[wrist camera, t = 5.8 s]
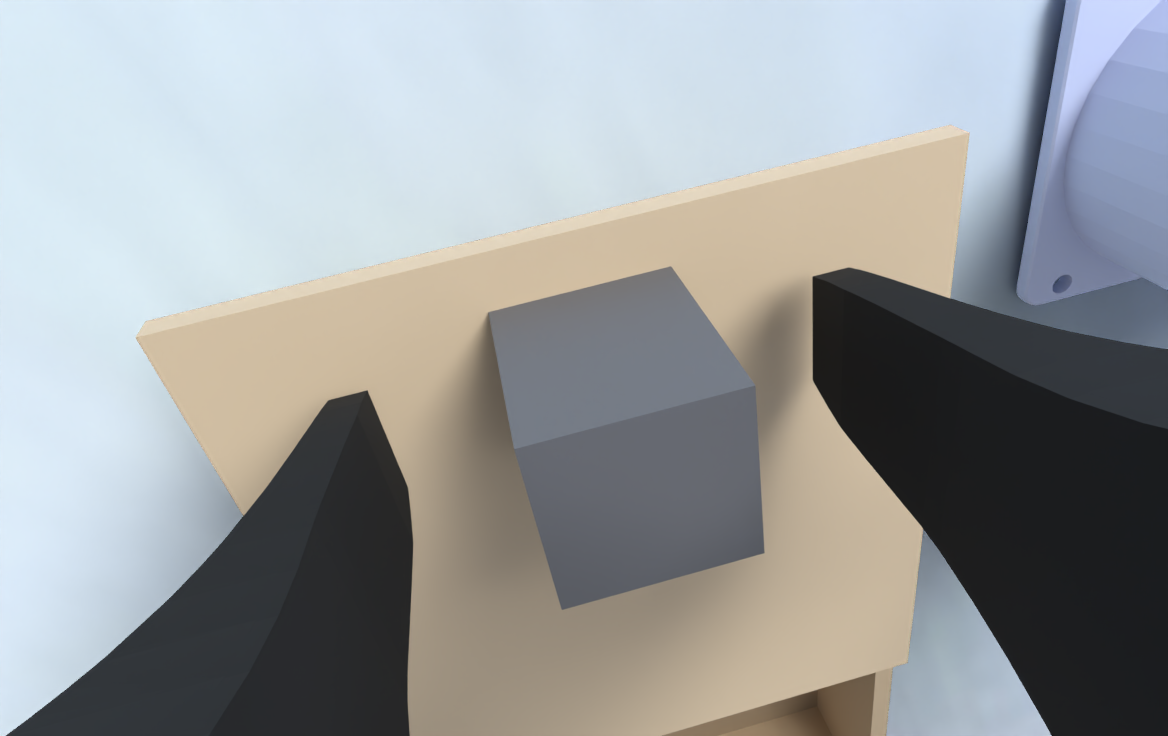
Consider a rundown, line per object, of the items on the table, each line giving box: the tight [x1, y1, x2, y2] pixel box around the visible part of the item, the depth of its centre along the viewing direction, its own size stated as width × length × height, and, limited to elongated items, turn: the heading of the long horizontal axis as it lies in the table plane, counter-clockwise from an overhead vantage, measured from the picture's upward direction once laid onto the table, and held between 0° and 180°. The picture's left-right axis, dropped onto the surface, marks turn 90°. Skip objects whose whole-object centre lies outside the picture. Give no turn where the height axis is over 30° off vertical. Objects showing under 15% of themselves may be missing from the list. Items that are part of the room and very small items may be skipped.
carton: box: [662, 667, 893, 736], centre depth 22 cm, size 13×14×4 cm
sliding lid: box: [136, 125, 969, 736], centre depth 14 cm, size 13×14×4 cm
